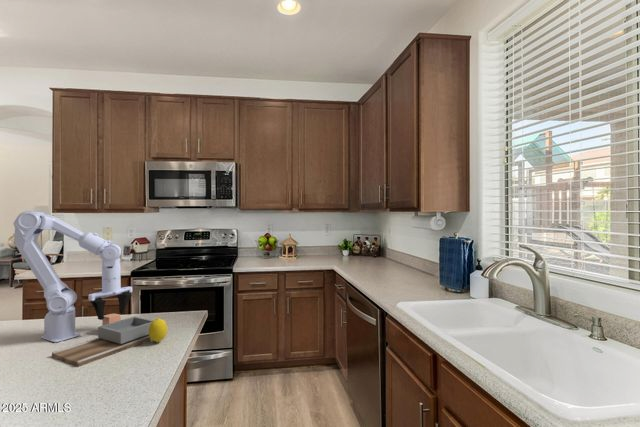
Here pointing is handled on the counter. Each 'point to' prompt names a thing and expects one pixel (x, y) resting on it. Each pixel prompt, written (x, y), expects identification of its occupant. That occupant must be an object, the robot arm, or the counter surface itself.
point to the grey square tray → (125, 329)
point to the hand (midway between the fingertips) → (111, 316)
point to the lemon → (157, 330)
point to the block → (110, 318)
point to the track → (94, 350)
